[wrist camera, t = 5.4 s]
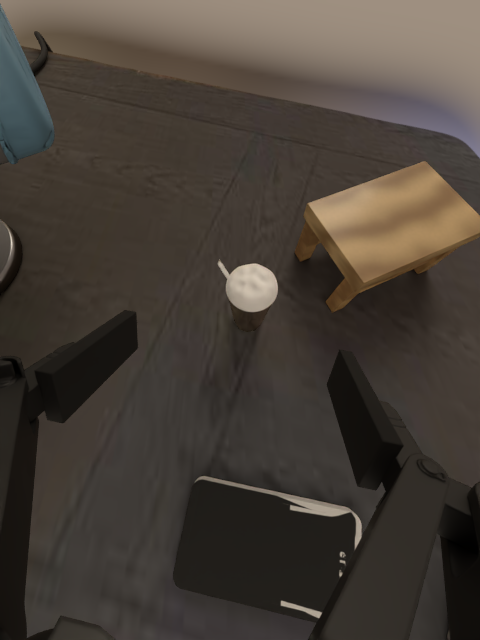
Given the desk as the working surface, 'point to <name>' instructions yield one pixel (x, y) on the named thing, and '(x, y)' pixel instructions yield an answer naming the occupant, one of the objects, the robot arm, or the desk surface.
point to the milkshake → (250, 294)
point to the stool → (387, 228)
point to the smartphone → (264, 547)
